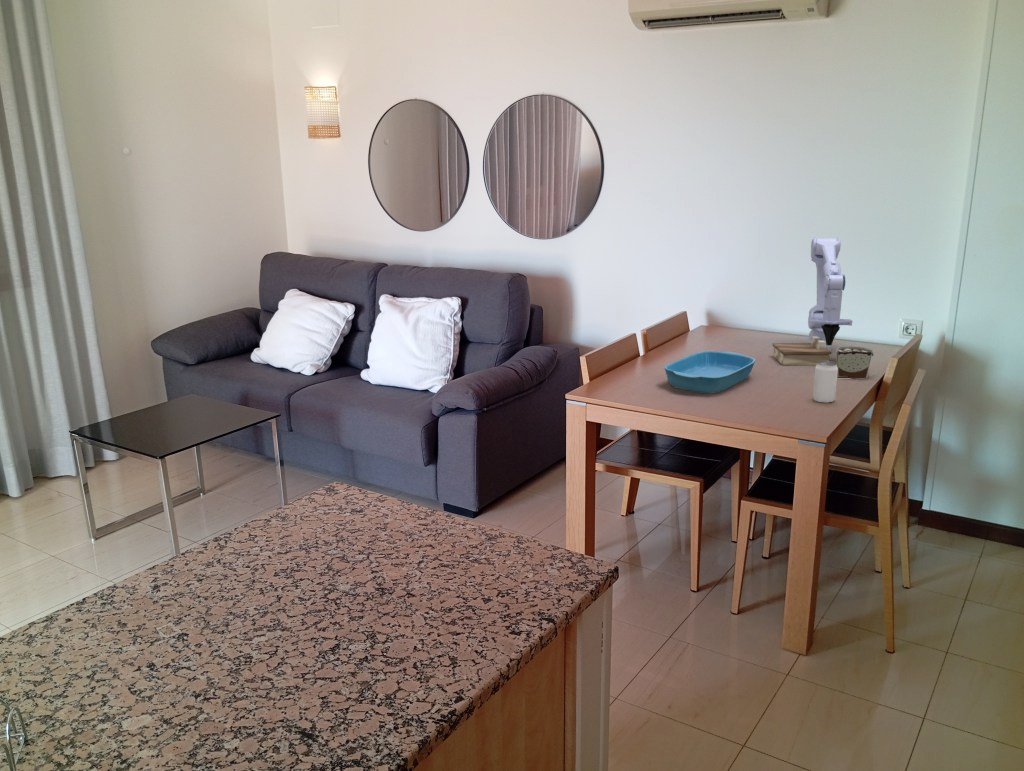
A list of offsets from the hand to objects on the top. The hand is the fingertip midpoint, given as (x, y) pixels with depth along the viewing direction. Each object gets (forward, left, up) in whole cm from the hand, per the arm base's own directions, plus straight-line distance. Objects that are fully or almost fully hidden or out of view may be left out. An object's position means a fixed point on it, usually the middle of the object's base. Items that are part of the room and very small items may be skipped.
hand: (828, 344), depth 293 cm
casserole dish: (+25, -48, -7) cm, 54 cm away
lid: (0, -10, -2) cm, 10 cm away
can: (+47, -17, -7) cm, 50 cm away
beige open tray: (0, -10, -7) cm, 12 cm away
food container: (+19, +1, -7) cm, 20 cm away
